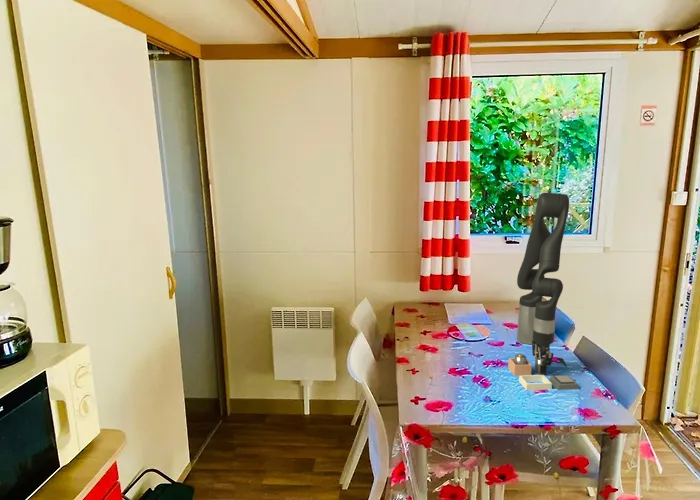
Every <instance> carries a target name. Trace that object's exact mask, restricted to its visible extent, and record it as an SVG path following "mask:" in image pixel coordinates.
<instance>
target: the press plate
mask: <svg viewBox="0 0 700 500" xmlns="http://www.w3.org/2000/svg"><path fill="white" fill-rule="evenodd" d="M554 376H555V379H556V380H557V381H558V382H559V383H560V384H572V383H573V382H574V381H575V380H574V381H572V380H571V379H570V378H569V377H568V376H565V375H554Z"/></svg>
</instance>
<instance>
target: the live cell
mask: <svg viewBox="0 0 700 500" xmlns="http://www.w3.org/2000/svg"><path fill="white" fill-rule="evenodd" d="M535 360H536V362H535V361H534V373H535V374H536V375H544V376H545V374H540V365H541V360H540V359H539V357H536V359H535ZM543 361H544V359H543Z"/></svg>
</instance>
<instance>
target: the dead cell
mask: <svg viewBox="0 0 700 500" xmlns="http://www.w3.org/2000/svg"><path fill="white" fill-rule="evenodd" d="M514 358H515V364H516V365H525V364H526V360H527V356H526V355H525V354H522V353H516V354H515V355H514Z"/></svg>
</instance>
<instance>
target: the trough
mask: <svg viewBox="0 0 700 500" xmlns="http://www.w3.org/2000/svg"><path fill="white" fill-rule="evenodd" d="M549 380H550V379H548V378H547V376H546V375H545V374H544V375H540V374H531V375H523V376H518V382H519V383H520V384H521V386H522V387H523V388H524V389H525V390H526V391H537V390H538V391H540V390H544V391H545V390H552V388H553V387H552V386H553V385H552V383H551V382H550V381H549ZM530 382H531V383H530ZM533 382H534V383H533ZM535 382H536V383H535Z"/></svg>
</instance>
